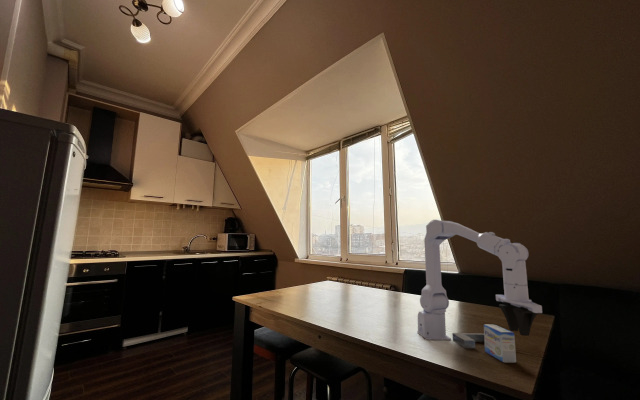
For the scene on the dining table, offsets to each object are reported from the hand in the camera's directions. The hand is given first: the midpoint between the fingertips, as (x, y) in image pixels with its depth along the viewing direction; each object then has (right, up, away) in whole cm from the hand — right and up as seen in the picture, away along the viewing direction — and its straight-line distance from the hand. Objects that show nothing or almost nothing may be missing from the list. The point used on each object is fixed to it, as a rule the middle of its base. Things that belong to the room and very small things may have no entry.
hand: (519, 332), depth 75 cm
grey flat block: (-1, -13, +16) cm, 21 cm away
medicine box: (-1, -11, +7) cm, 13 cm away
